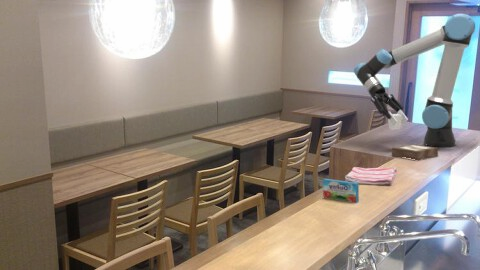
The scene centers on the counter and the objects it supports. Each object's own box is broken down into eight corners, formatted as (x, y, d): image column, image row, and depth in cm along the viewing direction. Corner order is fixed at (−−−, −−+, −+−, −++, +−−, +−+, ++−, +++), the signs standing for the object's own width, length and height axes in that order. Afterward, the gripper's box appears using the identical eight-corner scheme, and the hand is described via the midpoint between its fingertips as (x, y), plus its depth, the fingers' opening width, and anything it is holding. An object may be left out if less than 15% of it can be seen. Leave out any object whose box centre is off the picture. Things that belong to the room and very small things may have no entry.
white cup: (399, 130, 220) (399, 115, 220) (385, 129, 225) (385, 115, 224) (404, 128, 226) (404, 114, 225) (390, 127, 230) (390, 113, 229)
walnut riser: (412, 152, 221) (412, 144, 221) (437, 156, 209) (437, 147, 209) (391, 156, 215) (391, 147, 214) (416, 160, 202) (416, 151, 202)
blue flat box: (323, 197, 154) (322, 179, 153) (325, 196, 155) (325, 178, 154) (356, 203, 146) (356, 184, 145) (358, 201, 147) (358, 182, 146)
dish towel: (343, 185, 170) (343, 175, 170) (354, 171, 191) (354, 162, 191) (391, 187, 163) (391, 178, 163) (397, 172, 185) (397, 164, 184)
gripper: (385, 92, 241) (410, 125, 229) (356, 94, 231) (381, 129, 220) (392, 81, 236) (419, 115, 224) (364, 84, 226) (390, 119, 214)
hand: (400, 122), depth 222 cm, fingers closed on white cup, 7 cm apart
